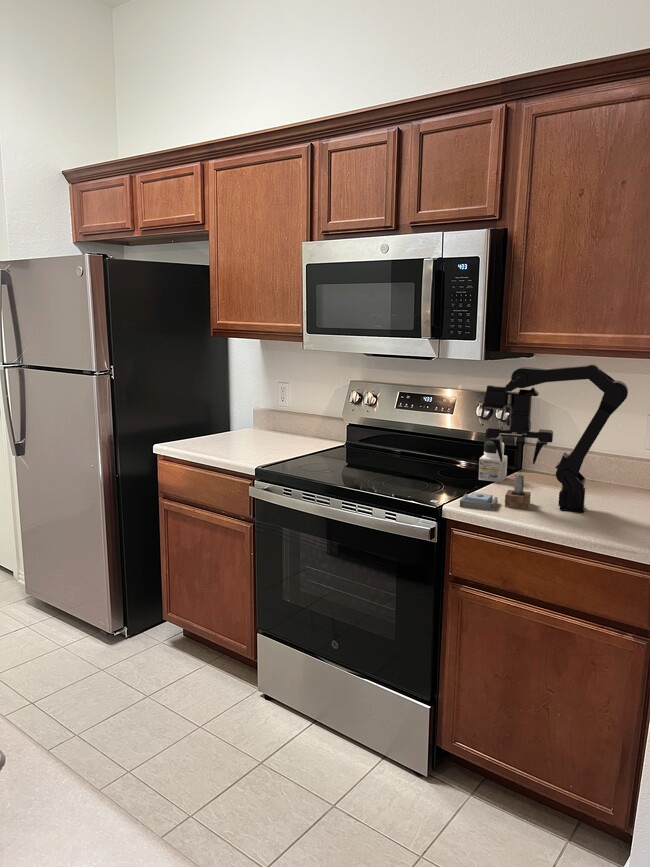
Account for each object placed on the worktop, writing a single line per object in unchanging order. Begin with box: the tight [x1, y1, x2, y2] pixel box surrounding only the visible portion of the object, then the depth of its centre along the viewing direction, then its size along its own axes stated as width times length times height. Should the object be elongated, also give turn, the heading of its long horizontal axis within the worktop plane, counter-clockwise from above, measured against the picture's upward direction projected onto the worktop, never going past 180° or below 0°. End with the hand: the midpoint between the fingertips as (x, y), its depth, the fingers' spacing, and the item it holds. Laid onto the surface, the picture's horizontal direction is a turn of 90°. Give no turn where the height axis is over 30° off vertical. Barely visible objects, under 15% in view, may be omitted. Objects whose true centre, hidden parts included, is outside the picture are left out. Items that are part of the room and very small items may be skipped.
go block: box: [504, 489, 531, 510], centre depth 194 cm, size 6×6×4 cm
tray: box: [459, 493, 499, 511], centre depth 194 cm, size 10×8×2 cm
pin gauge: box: [513, 473, 525, 496], centre depth 193 cm, size 3×3×9 cm
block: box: [467, 491, 494, 503], centre depth 194 cm, size 6×6×3 cm
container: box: [478, 440, 508, 483], centre depth 223 cm, size 8×8×13 cm
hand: (517, 462), depth 195 cm, fingers open, 9 cm apart
